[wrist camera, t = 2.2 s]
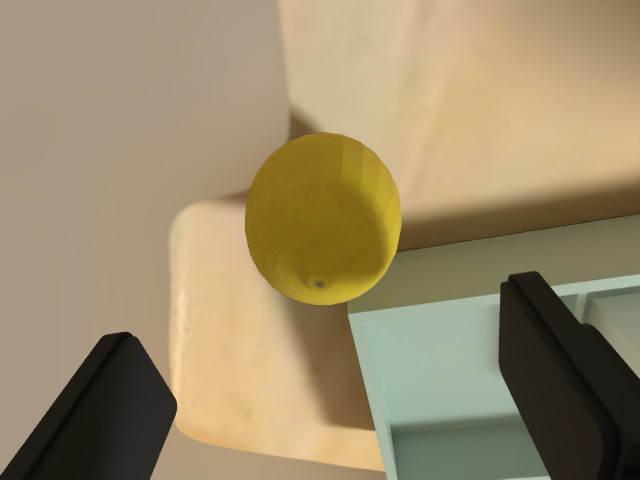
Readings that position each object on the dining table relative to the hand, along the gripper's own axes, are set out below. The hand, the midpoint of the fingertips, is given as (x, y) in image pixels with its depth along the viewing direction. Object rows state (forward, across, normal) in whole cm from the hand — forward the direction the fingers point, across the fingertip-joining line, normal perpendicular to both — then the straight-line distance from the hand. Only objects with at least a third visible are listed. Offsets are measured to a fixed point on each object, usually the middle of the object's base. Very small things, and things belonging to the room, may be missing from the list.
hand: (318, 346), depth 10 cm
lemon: (+10, 0, -1) cm, 10 cm away
